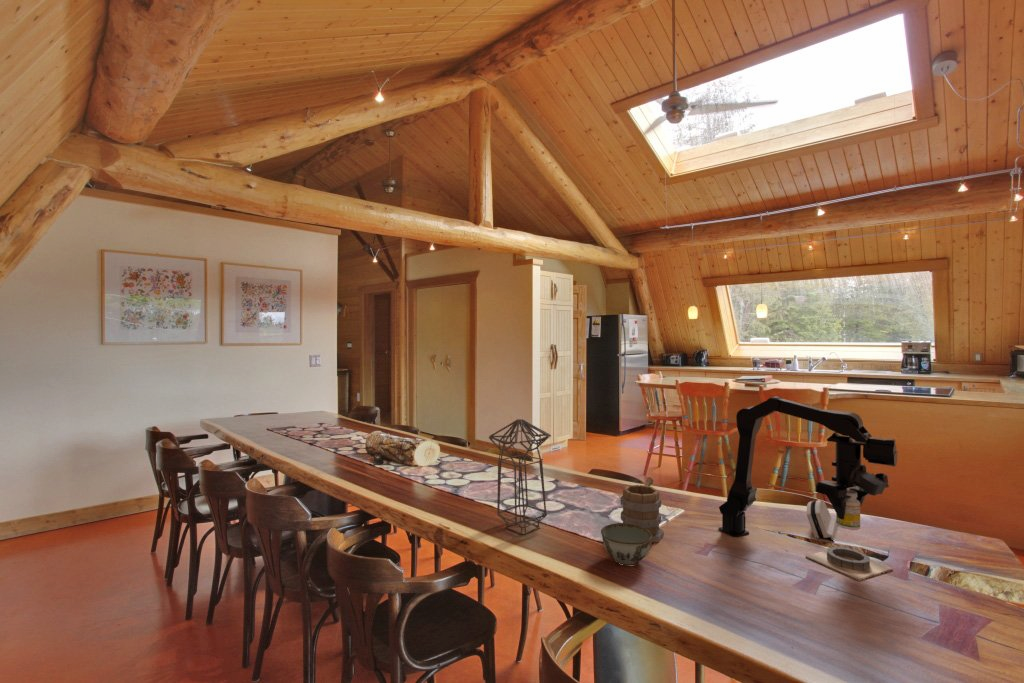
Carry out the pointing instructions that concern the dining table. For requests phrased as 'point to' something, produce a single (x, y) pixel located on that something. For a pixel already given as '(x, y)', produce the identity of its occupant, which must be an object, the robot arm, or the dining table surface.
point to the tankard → (642, 508)
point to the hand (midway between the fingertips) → (848, 517)
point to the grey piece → (821, 520)
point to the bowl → (626, 542)
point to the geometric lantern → (528, 428)
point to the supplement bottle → (850, 513)
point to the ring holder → (849, 562)
